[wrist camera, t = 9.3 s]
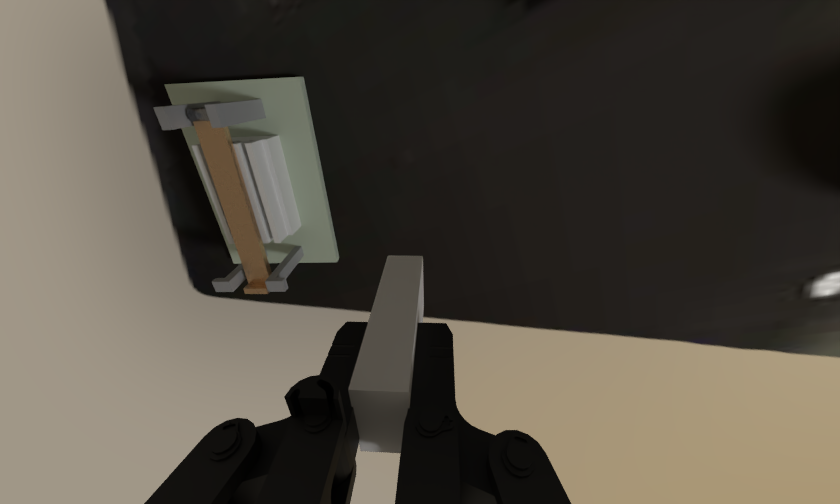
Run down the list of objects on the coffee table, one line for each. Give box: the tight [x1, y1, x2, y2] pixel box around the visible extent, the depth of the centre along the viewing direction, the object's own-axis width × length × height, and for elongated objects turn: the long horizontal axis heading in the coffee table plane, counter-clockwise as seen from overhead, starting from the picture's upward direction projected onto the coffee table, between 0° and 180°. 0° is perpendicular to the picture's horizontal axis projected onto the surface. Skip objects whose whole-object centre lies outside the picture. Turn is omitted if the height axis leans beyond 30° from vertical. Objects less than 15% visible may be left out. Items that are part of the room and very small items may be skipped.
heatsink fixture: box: [153, 77, 339, 292], centre depth 38 cm, size 24×16×10 cm, turn 3°
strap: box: [187, 107, 272, 294], centre depth 36 cm, size 22×3×2 cm, turn 3°
